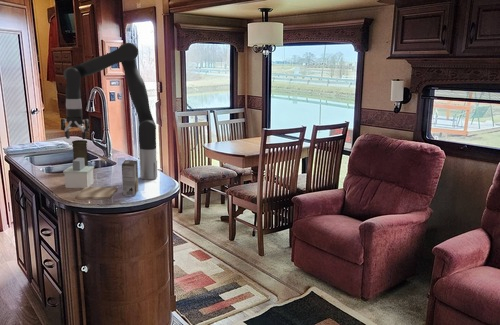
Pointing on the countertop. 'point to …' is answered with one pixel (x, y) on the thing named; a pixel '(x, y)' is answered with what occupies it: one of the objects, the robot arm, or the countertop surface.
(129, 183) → the coffee box
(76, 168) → the lid
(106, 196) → the board
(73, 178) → the bin
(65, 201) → the countertop surface
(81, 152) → the container
